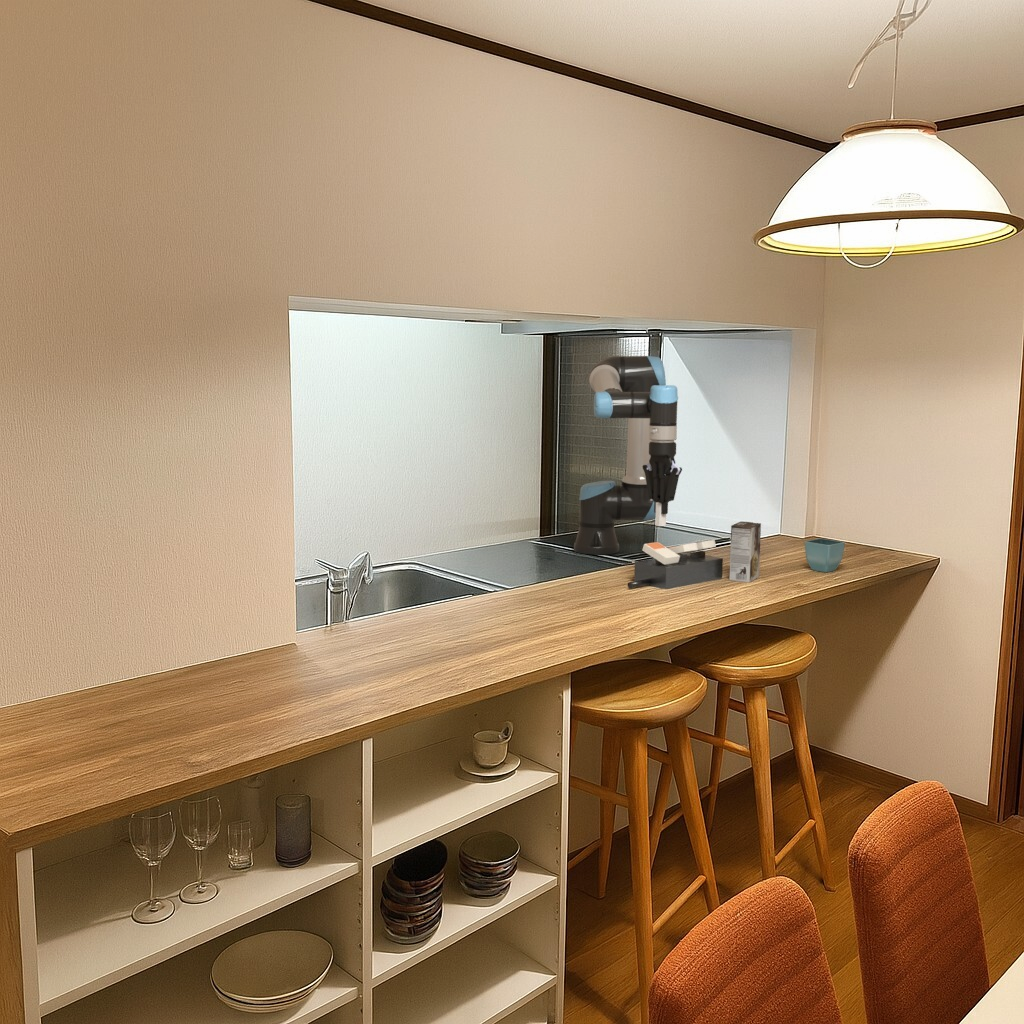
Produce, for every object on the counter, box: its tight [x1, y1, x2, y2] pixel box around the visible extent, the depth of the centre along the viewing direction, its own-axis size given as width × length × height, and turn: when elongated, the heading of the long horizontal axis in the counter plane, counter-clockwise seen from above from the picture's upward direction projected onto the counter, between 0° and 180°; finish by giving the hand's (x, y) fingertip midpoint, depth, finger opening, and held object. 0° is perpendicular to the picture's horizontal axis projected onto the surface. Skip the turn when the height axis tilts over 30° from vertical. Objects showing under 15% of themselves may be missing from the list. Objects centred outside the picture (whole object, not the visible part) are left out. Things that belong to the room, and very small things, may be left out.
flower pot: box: [804, 538, 846, 573], centre depth 296 cm, size 9×9×9 cm
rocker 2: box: [667, 542, 698, 554], centre depth 280 cm, size 9×6×2 cm, turn 38°
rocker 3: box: [681, 539, 717, 554], centre depth 285 cm, size 9×6×2 cm, turn 38°
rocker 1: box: [642, 541, 680, 565], centre depth 274 cm, size 9×6×2 cm, turn 39°
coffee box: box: [728, 521, 762, 583], centre depth 283 cm, size 9×6×16 cm
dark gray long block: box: [627, 550, 724, 590], centre depth 278 cm, size 12×32×7 cm, turn 129°
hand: (660, 525), depth 274 cm, fingers closed
